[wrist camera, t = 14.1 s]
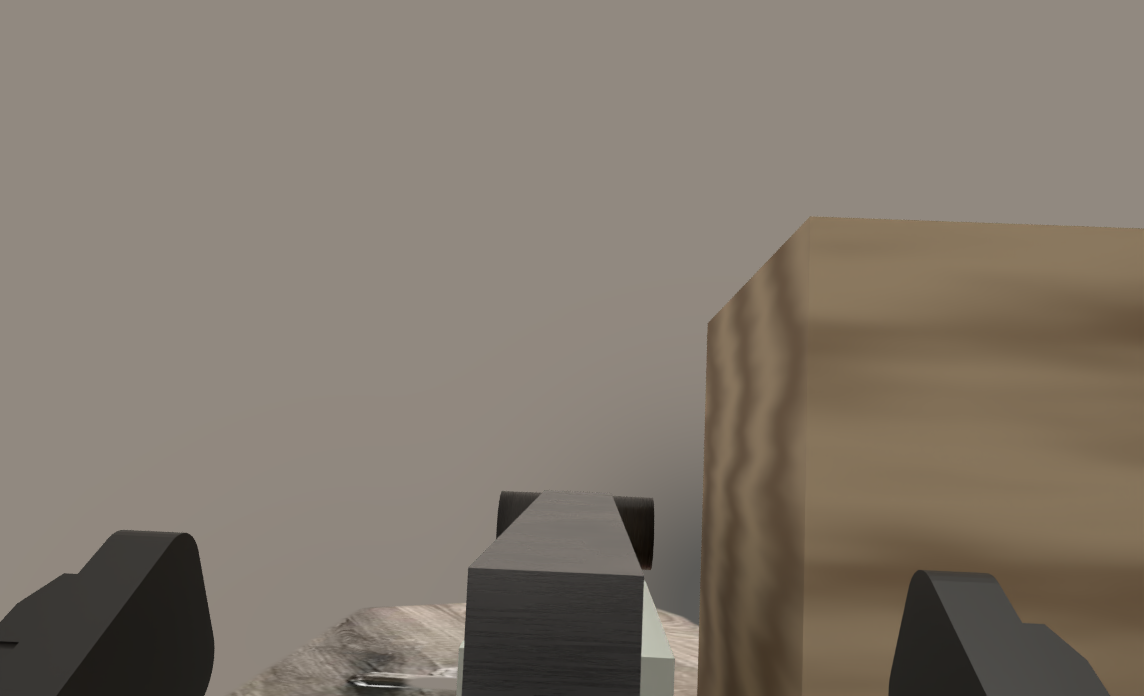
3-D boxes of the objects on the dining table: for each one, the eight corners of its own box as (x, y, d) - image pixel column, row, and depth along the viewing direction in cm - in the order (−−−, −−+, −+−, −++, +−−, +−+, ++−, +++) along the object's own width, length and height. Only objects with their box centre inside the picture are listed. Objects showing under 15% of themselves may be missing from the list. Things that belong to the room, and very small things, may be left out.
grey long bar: (740, 765, 14) (745, 580, 14) (357, 744, 14) (368, 563, 15) (647, 563, 38) (649, 495, 38) (503, 556, 38) (506, 488, 39)
